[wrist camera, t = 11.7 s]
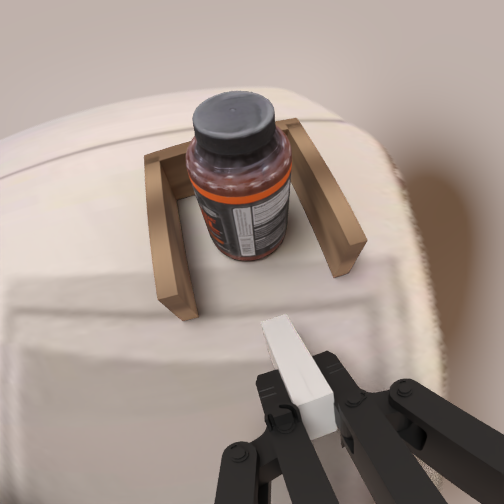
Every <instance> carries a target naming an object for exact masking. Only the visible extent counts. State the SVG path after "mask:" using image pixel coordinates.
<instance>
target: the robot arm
mask: <svg viewBox="0 0 504 504" xmlns="http://www.w3.org/2000/svg"><path fill="white" fill-rule="evenodd" d="M260 323H261V327H262V330H263V334H264V337H265V340H266V344H267V347H268V351H269V354H270V358H271V360H272V363H273V366H274V368H275V370H273V371H270V372H267V373H264V374H261V375H258V377H257V381H256V386H257V390H258V393H259V397H260V400H261V403H262V407H263V410H264V414H265V423H266V425H267V427H266V430H265V432H264V433H263V434H262V435H261V436H260V437H259V438H257V439H256V440H254V441H252V442H250V443H248V442H241V441H240V442H236V443H233V444H231V445H229V446H228V447H227V448H226V449H225V450H224V452H223V455H222V460H221V466H220V472H219V478H218V485H217V491H216V497H215V503H214V504H271V480H273V479H275V478H276V477H278V476H280V475H281V474H283V477H284V480H285V483H286V486H287V489H288V492H289V495H290V498H291V501H292V504H339V502H338V500H337V498H336V496H335V493H334V491H333V489H332V487H331V485H330V483H329V480H328V478H327V476H326V474H325V471H324V469H323V467H322V465H321V463H320V460H319V458H318V456H317V454H316V451H315V449H314V447H313V445H312V442H311V440H314V439H316V438H319V437H322V436H324V435H327V434H329V433H332V432H334V431H337V427H338V428H339V430H340V432H341V445H342V448H343V447H346V449H347V450H348V452H349V454H350V456H351V458H352V460H353V462H354V464H355V465H356V467H357V469H358V471H359V473H360V475H361V477H362V478H363V480H364V482H365V484H366V486H367V488H368V489H369V491H370V493H371V495H372V497H373V499H374V501H375V502H376V504H448V503H447V502H446V501H445V499H444V498H443V496H442V495H441V493H440V492H439V491H438V489H437V488H436V486H435V485H434V483H433V482H432V481H431V479H430V478H429V476H428V475H427V474H426V472H425V471H424V469H423V468H422V467H421V465H420V464H419V462H418V461H417V460H416V458H415V457H414V455H416V456H417V457H418V458H420V459H421V460H422V461H423V462H425V463H426V464H427V465H429V466H430V467H431V468H433V469H434V470H435V471H437V472H438V473H439V474H441V475H442V476H443V477H445V478H446V479H447V480H449V481H450V482H451V483H453V484H454V485H456V486H457V487H458V488H460V489H461V490H462V491H464V492H465V493H467V494H468V495H470V496H471V497H472V498H474V499H476V500H477V501H478V502H480V503H481V504H504V435H503V434H501V433H500V432H498V431H496V430H495V429H493V428H491V427H490V426H488V425H486V424H485V423H483V422H481V421H479V420H478V419H476V418H475V417H473V416H471V415H470V414H468V413H467V412H465V411H463V410H461V409H460V408H458V407H457V406H455V405H453V404H452V403H450V402H448V401H447V400H445V399H444V398H442V397H440V396H439V395H437V394H436V393H434V392H432V391H431V390H429V389H428V388H426V387H424V386H423V385H421V384H420V383H418V382H416V381H414V380H412V379H400V380H398V381H396V382H394V383H393V384H392V385H391V387H390V390H387V391H382V392H376V393H370V392H366V391H365V390H362V389H360V388H359V387H358V386H357V384H356V383H355V382H354V380H353V379H352V377H351V376H350V375H349V373H348V372H347V370H346V369H345V368H344V366H343V365H342V363H340V361H339V359H338V358H337V356H336V355H334V354H333V353H331V352H329V351H325V352H323V353H320V354H317V355H315V356H311V354H310V353H309V351H308V349H307V348H306V346H305V344H304V343H303V341H302V339H301V338H300V336H299V334H298V333H297V331H296V329H295V328H294V326H293V324H292V323H291V321H290V319H289V318H288V316H287V314H284V315H281V316H278V317H275V318H272V319H269V320H265V321H262V322H260ZM411 452H412V453H413V454H414V455H413V454H412V453H411Z"/></svg>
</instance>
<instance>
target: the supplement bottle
mask: <svg viewBox="0 0 504 504" xmlns="http://www.w3.org/2000/svg"><path fill="white" fill-rule="evenodd" d="M193 126H194V131H195V136H194V138H193V139H192V141H191V142H190V144H189V146H188V149H187V153H186V168H187V171H188V174H189V177H190V181H191V183H192V186H193V189H194V192H195V195H196V198H197V200H198V203H199V206H200V209H201V211H202V214H203V217H204V220H205V222H206V225H207V228H208V231H209V234H210V237H211V238H212V240H213V242H214V244H215V245H216V246H217V248H218V249H219V250H220V251H221V252H223V253H224V254H226V255H227V256H229V257H231V258H233V259H237V260H256V259H260V258H263V257H265V256H267V255H269V254H271V253H272V252H273V251H274V250H276V249H277V247H278V246H279V245H280V244H281V242H282V240H283V238H284V236H285V232H286V227H287V218H288V206H289V195H290V183H291V167H292V149H291V145H290V142H289V140H288V138H287V136H286V135H285V133H284V132H283V131H282V130H281V129H280V128H279V127H278V126H277V125H276V124H275V113H274V107H273V105H272V104H271V102H270V101H269V100H268V99H266V98H265V97H263V96H262V95H259V94H256V93H253V92H248V91H230V92H224V93H221V94H218V95H215V96H213V97H211V98H208V99H207V100H205V101H204V102H202V103H201V104H200V105H199V106H198V107H197V108H196V110H195V112H194V114H193Z"/></svg>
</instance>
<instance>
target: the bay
mask: <svg viewBox="0 0 504 504" xmlns="http://www.w3.org/2000/svg"><path fill="white" fill-rule="evenodd" d="M275 124H276V125H277V126H278V127H279V128H280V129H281V130H282V131H283V132H284V133H285V135H286V136H287V138H288V140H289V142H290V145H291V149H292V167H291V183H292V185H293V187H294V189H295V191H296V193H297V195H298V197H299V200H300V202H301V204H302V206H303V208H304V210H305V213H306V215H307V217H308V219H309V221H310V224H311V226H312V228H313V230H314V233H315V235H316V237H317V240H318V242H319V244H320V247H321V249H322V251H323V254H324V256H325V258H326V261H327V263H328V265H329V268H330V270H331V273H332V275H333V278H335V277H338V276H341V275H344V274H347V273H349V271H350V269H351V268H352V266H353V264H354V263H355V261H356V259H357V258H358V256H359V254H360V253H361V251H362V249H363V247H364V246H365V244H366V242H367V238H366V236H365V234H364V232H363V230H362V228H361V226H360V224H359V222H358V220H357V218H356V217H355V215H354V213H353V211H352V209H351V207H350V205H349V203H348V202H347V200H346V198H345V196H344V194H343V193H342V191H341V189H340V187H339V185H338V184H337V182H336V180H335V178H334V177H333V175H332V173H331V172H330V170H329V168H328V167H327V165H326V163H325V162H324V160H323V158H322V157H321V155H320V153H319V152H318V150H317V148H316V147H315V145H314V144H313V142H312V140H311V139H310V137H309V136H308V134H307V133H306V131H305V130H304V128H303V127H302V125H301V123H300V122H299V120H298V119H297V118H293V119H287V120H281V121H276V122H275ZM190 142H191V141H189V142H186V143H182V144H179V145H176V146H172V147H169V148H166V149H163V150H159V151H156V152H153V153H150V154H147V155H144V166H145V187H146V202H147V215H148V226H149V236H150V246H151V254H152V263H153V270H154V278H155V285H156V292H157V298H158V300H159V301H160V302H161V303H162V304H163V305H164V306H165V307H167V308H168V309H169V310H170V311H171V312H172V313H174V314H175V315H176V316H177V317H178V318H179V319H181V320H182V321H185V320H189V319H193V318H197V317H199V316H198V312H197V307H196V303H195V298H194V293H193V288H192V284H191V279H190V274H189V269H188V264H187V258H186V253H185V248H184V242H183V237H182V231H181V225H180V219H179V213H178V207H177V201H176V200H179V199H182V198H185V197H189V196H192V195H195V192H194V189H193V186H192V183H191V181H190V177H189V174H188V171H187V168H186V153H187V149H188V146H189V144H190Z"/></svg>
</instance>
